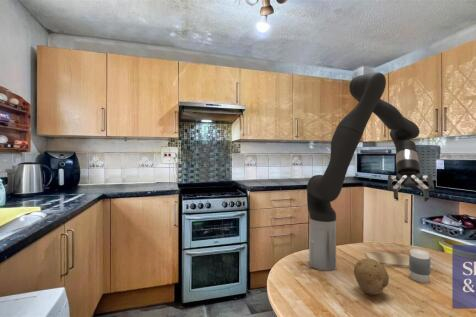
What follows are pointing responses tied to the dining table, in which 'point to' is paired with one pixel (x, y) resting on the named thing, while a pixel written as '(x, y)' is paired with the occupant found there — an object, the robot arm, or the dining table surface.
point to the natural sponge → (371, 276)
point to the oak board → (391, 259)
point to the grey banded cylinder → (419, 265)
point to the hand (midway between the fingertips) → (411, 199)
